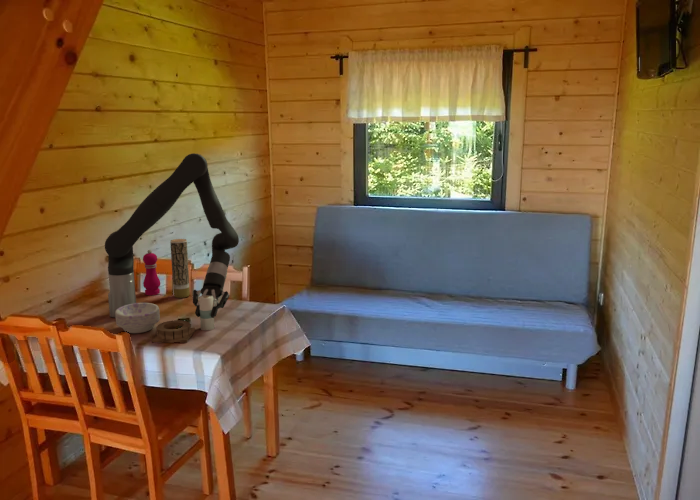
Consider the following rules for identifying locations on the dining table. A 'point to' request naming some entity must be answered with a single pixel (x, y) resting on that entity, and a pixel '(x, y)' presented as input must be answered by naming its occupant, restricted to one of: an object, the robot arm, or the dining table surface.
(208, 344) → the dining table surface
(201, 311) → the roll
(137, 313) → the paper bowls
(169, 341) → the holder
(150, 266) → the pepper mill
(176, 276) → the bark covered cylinder
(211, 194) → the robot arm
